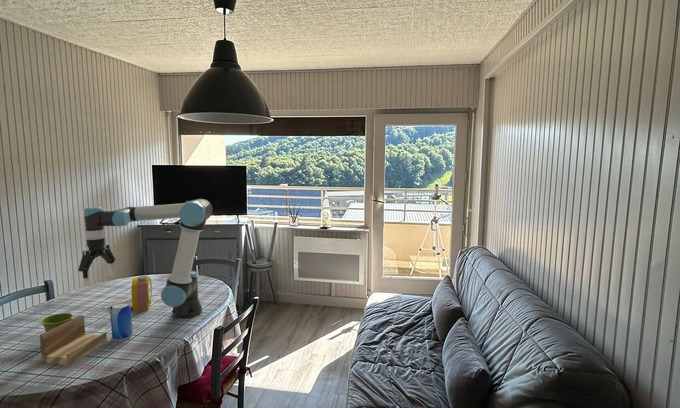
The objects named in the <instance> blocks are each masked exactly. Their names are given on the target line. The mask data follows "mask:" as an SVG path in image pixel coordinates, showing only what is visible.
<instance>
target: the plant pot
mask: <svg viewBox="0 0 680 408" xmlns="http://www.w3.org/2000/svg"><path fill="white" fill-rule="evenodd" d="M73 318H74V314H73V313H71V312H70V313H69V312H61V313H55V314H52V315H48V316H46V317H44V318H42V319H41V320H40V323H41V324H42V325H43V328H44V331H45V332H47V331H49V330H51V329H53V328H55V327H57V326H59V325H61V324H63V323H65V322H67V321H69V320H71V319H73Z"/></svg>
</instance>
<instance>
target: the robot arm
mask: <svg viewBox="0 0 680 408" xmlns="http://www.w3.org/2000/svg"><path fill="white" fill-rule="evenodd" d="M83 214H84V215H83V216H84V217H83V218H84V224H85V225H84V226H85V237H86V247H87V248H88V250H82V257H81V260H80V264H79V266H78V269H77V271H78V272H81V273H82V278H83V280H84V282H83V283H84V285H88V286H90V285H91V273H90V268H91V265H92V264H93V261H94V260H95V259H96V258H98V257H101V258H102V259H103V260H104V261H105V262H106V263H105V269H106V276H107V277H112V276H113V264H115V261H116V258H115V256H114V254H113V252H112V250H111V247H110V245H109V244H106V240H105V239H106V238H105V229H104V227H124V226H125V227H126V226H128V224H129V223H132V222H140V221H141V222H142V221H155V220H157V221H158V220H167V219H168V220H170V219H179V220H180V222H179V227H180V228H181V233H180V236H179V241H178V246H177V250H176V254H175V258H174V263H173V268H172V271H171V274H169V275H168V276H167V280H166V284H165V287H163V289H162V290H161V293H160V298H161V301H162V302H163V304H165V305H166V306H168V307H171V308H172V312H171V314H172V317H174V318H176V319H190V318H193V317H196V316H199V315H201V313H202V312H203V306H202V304H201V301H200V299H199V286H198V285H199V283H198V282H199V281H198V278H199V277H198V273H197V271H193V270H192V268H193V265H194V260H195V255H196V253H197V252H196V251H197V249H198V248H197V247H198V244H199V238H200V235H201V234H200V233H201V232H203V231H204V230H205V226H206V223H207V220H208V219H210V218H211V216H212V215H213V206H212V204H211V203H210V201H208V200H207V199H203V198H197V199H192V200H186V201H185V202H182V203H181V202H180V203H171V204H170V203H169V204H156V205H143V206H127V207H124V208H120V209H115V210H103V208H102V207H101V206H89V207H88V206H87V207H85V208H84V213H83Z"/></svg>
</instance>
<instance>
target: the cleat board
mask: <svg viewBox="0 0 680 408" xmlns="http://www.w3.org/2000/svg"><path fill="white" fill-rule="evenodd" d="M107 337H108V335H107V332H102V333H100V334H90V333H89V334H88V333H86V326H85V315H83V314H80V315H78V316H76V317H72V319H71V320H69V321H67V322H65V323H63V324H61V325H59V326H57V327H55V328H53V329H51V330H49V331H47V332H46V331H45V332H43V333H41V334H39V343H40V351H41V352H40V353H41V363H42V364H44V363H45V364H52V365H61V366H62V365H63V366H71V365H72V364H74V363H76V362H78V361H80V360H81V359H83V358H85V357H86V356H87V355H89V354H90V353H93V352H94V351H95V350H97V349H98V348H101V347H102V346H103V345H105V344H107V343H108V340H107V339H108V338H107Z"/></svg>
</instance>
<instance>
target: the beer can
mask: <svg viewBox="0 0 680 408" xmlns="http://www.w3.org/2000/svg"><path fill="white" fill-rule="evenodd" d="M111 307H112V308H111V309H110V324H111V325H110V328H111V339H113V341H115V342H123V341H127V340H129V339H131V337H132V336H133V333H134V332H133V319H132V318H133V317H132V308H131V306H130V305H129V303H128V302H119V303H115V304H113V305H112V306H111Z"/></svg>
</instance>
